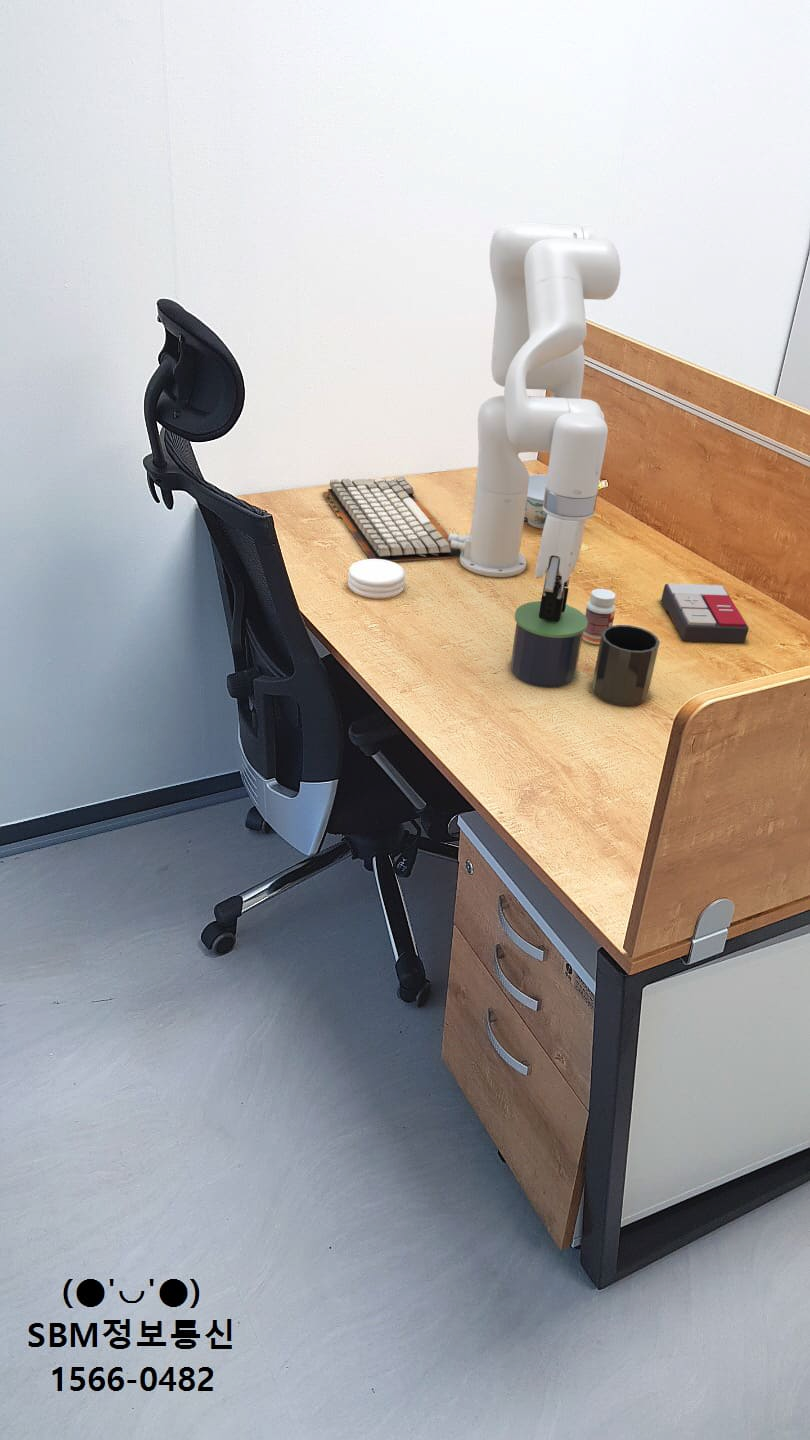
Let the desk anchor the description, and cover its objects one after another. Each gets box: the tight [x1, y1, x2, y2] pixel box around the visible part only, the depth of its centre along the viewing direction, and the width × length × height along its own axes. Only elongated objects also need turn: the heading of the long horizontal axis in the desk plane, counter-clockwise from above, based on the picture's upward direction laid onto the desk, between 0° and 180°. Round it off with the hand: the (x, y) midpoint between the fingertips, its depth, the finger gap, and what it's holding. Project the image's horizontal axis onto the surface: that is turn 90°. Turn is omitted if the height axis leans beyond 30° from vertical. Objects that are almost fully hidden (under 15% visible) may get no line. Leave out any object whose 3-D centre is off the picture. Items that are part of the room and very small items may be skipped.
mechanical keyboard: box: [322, 476, 462, 563], centre depth 221 cm, size 38×19×3 cm, turn 19°
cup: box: [591, 624, 661, 708], centre depth 168 cm, size 9×9×10 cm
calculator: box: [660, 582, 750, 644], centre depth 192 cm, size 11×4×15 cm
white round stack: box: [347, 558, 406, 600], centre depth 195 cm, size 10×10×4 cm
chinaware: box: [524, 473, 547, 530], centre depth 225 cm, size 15×15×8 cm
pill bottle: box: [582, 588, 617, 646], centre depth 183 cm, size 5×5×8 cm
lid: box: [514, 584, 588, 638], centre depth 168 cm, size 11×11×6 cm
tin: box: [510, 622, 583, 689], centre depth 172 cm, size 10×10×9 cm
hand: (551, 613), depth 169 cm, fingers closed on lid, 2 cm apart
